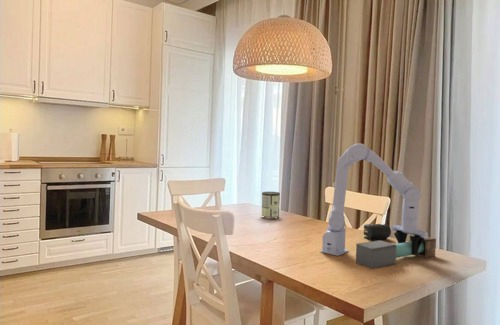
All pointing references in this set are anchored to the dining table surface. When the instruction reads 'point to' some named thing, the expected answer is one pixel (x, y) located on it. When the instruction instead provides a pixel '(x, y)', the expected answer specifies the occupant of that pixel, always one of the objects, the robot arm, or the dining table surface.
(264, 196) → the coffee can
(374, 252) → the grey rectangular box
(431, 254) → the socket block
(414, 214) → the robot arm
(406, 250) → the tube
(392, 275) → the dining table surface
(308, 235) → the dining table surface
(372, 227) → the end cap
